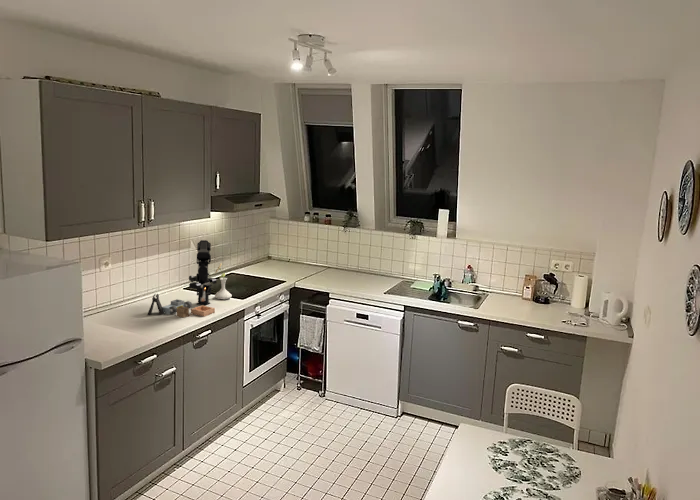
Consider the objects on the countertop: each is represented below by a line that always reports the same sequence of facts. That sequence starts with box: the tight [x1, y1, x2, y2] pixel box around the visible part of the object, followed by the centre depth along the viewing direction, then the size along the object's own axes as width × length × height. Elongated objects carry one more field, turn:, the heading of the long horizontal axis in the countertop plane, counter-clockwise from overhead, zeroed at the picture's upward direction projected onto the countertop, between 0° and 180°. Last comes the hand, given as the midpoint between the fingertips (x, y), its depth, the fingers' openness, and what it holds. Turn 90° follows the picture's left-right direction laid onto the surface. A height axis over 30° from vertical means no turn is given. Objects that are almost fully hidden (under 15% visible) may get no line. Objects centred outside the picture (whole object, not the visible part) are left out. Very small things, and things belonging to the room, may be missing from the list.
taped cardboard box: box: [176, 305, 190, 318], centre depth 328 cm, size 5×5×6 cm
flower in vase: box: [214, 262, 232, 300], centre depth 368 cm, size 13×11×25 cm
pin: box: [201, 287, 206, 301], centre depth 334 cm, size 4×4×8 cm
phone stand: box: [146, 293, 165, 316], centre depth 329 cm, size 9×6×12 cm, turn 101°
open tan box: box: [190, 305, 216, 318], centre depth 335 cm, size 10×10×3 cm
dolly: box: [162, 298, 193, 315], centre depth 338 cm, size 16×9×6 cm, turn 155°
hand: (203, 296), depth 334 cm, fingers closed on pin, 3 cm apart
